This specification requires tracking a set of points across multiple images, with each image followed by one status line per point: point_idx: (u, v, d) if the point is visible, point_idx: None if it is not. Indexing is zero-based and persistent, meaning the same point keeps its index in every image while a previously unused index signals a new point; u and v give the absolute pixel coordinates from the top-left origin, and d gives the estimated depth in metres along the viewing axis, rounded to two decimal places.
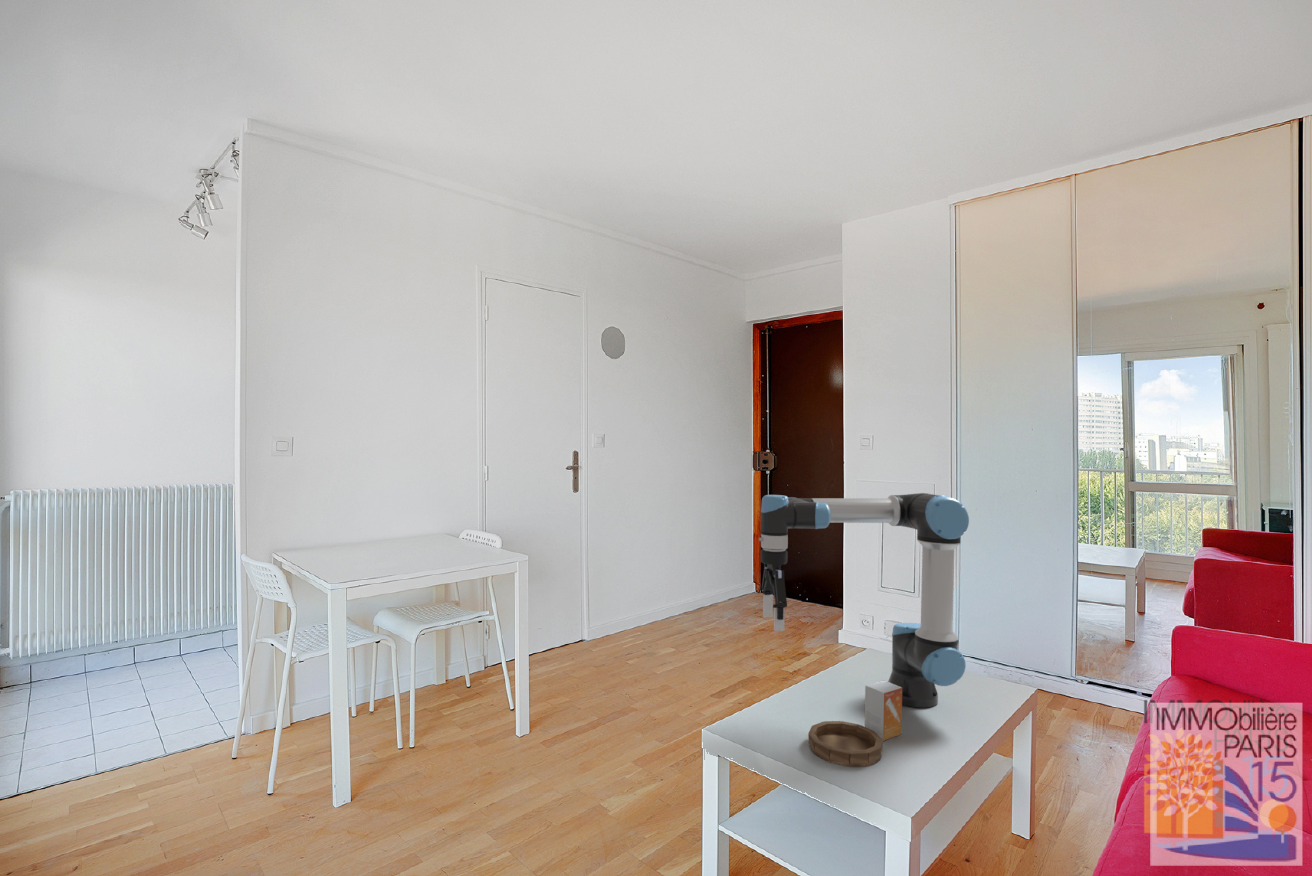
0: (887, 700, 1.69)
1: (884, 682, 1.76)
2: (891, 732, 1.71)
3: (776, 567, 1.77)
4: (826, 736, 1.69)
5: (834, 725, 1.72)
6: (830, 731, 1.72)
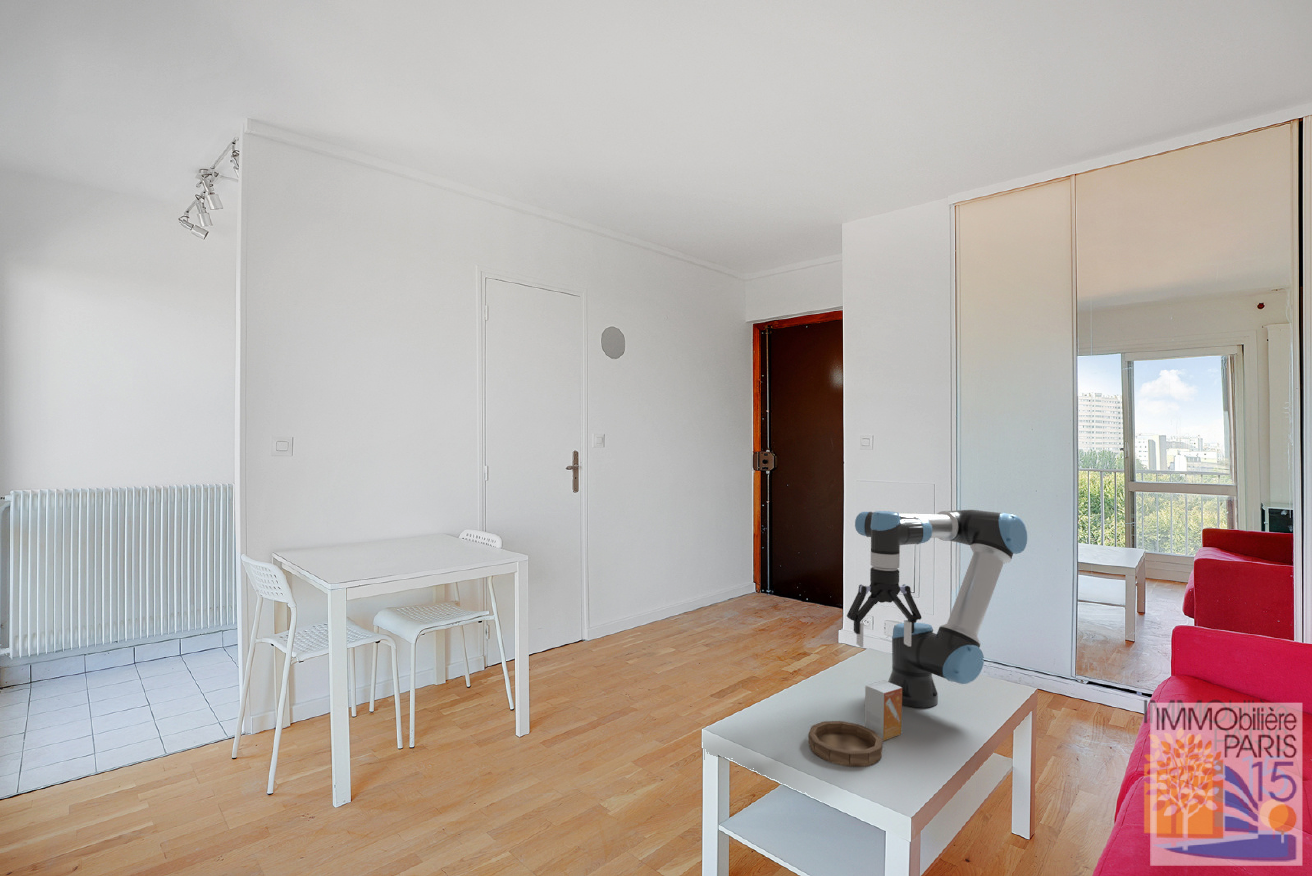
0: (887, 700, 1.69)
1: (884, 682, 1.76)
2: (891, 732, 1.71)
3: (871, 584, 1.74)
4: (826, 736, 1.69)
5: (834, 725, 1.72)
6: (830, 731, 1.72)
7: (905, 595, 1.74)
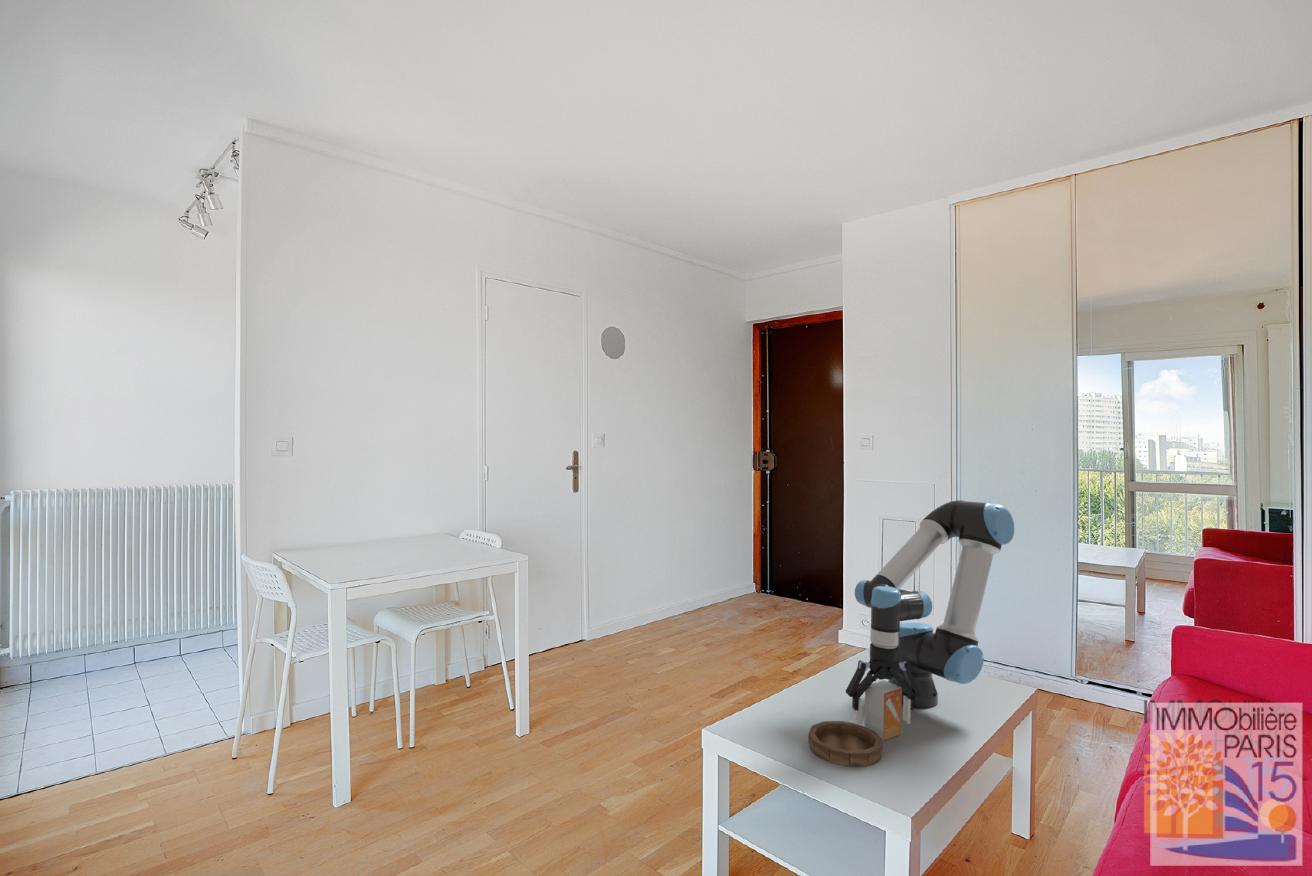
0: (886, 700, 1.69)
1: (884, 682, 1.76)
2: (891, 732, 1.71)
3: (870, 660, 1.73)
4: (826, 736, 1.69)
5: (834, 725, 1.72)
6: (830, 731, 1.72)
7: (904, 672, 1.74)
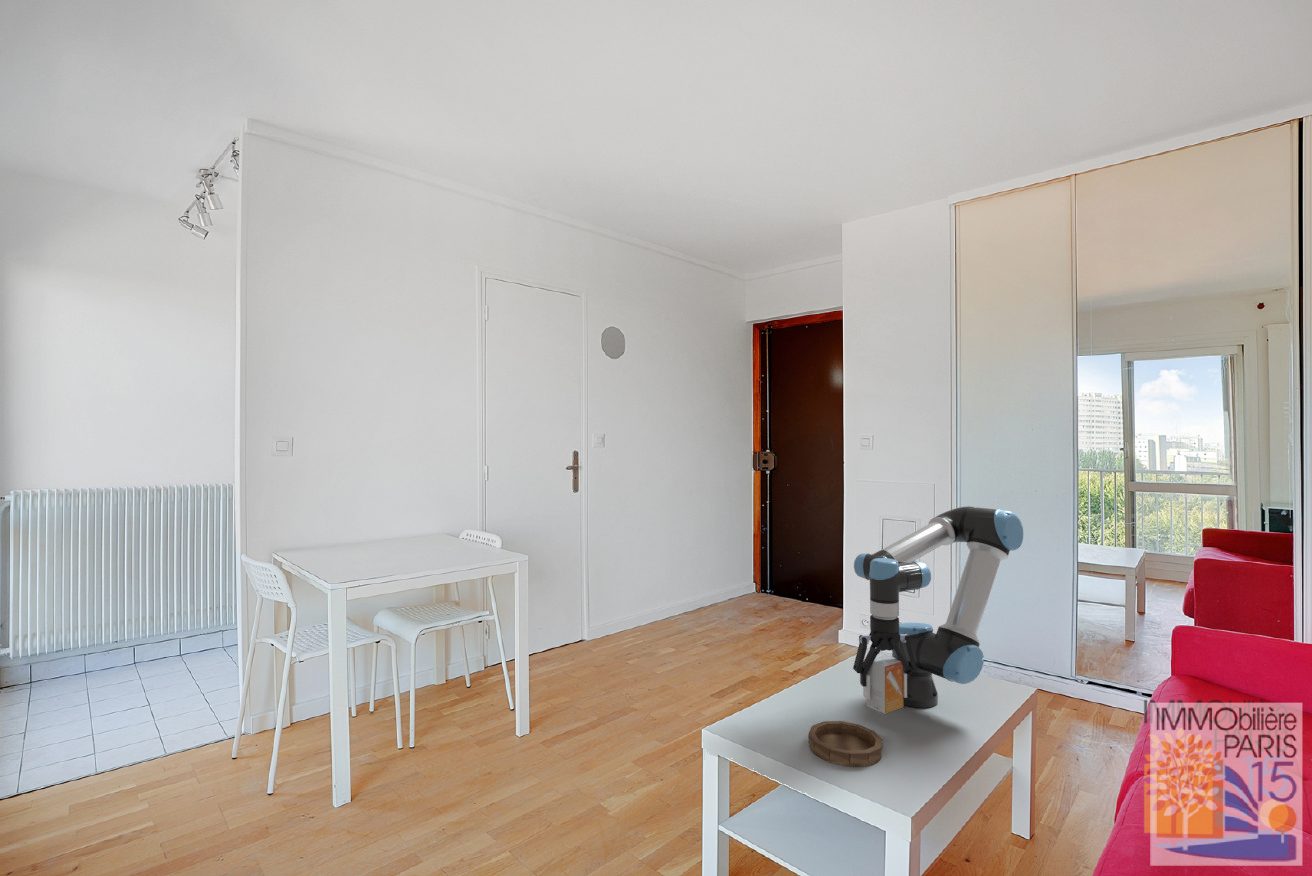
0: (887, 673, 1.70)
1: (885, 656, 1.77)
2: (893, 705, 1.71)
3: (870, 632, 1.73)
4: (826, 736, 1.69)
5: (834, 725, 1.72)
6: (830, 731, 1.72)
7: (904, 644, 1.74)
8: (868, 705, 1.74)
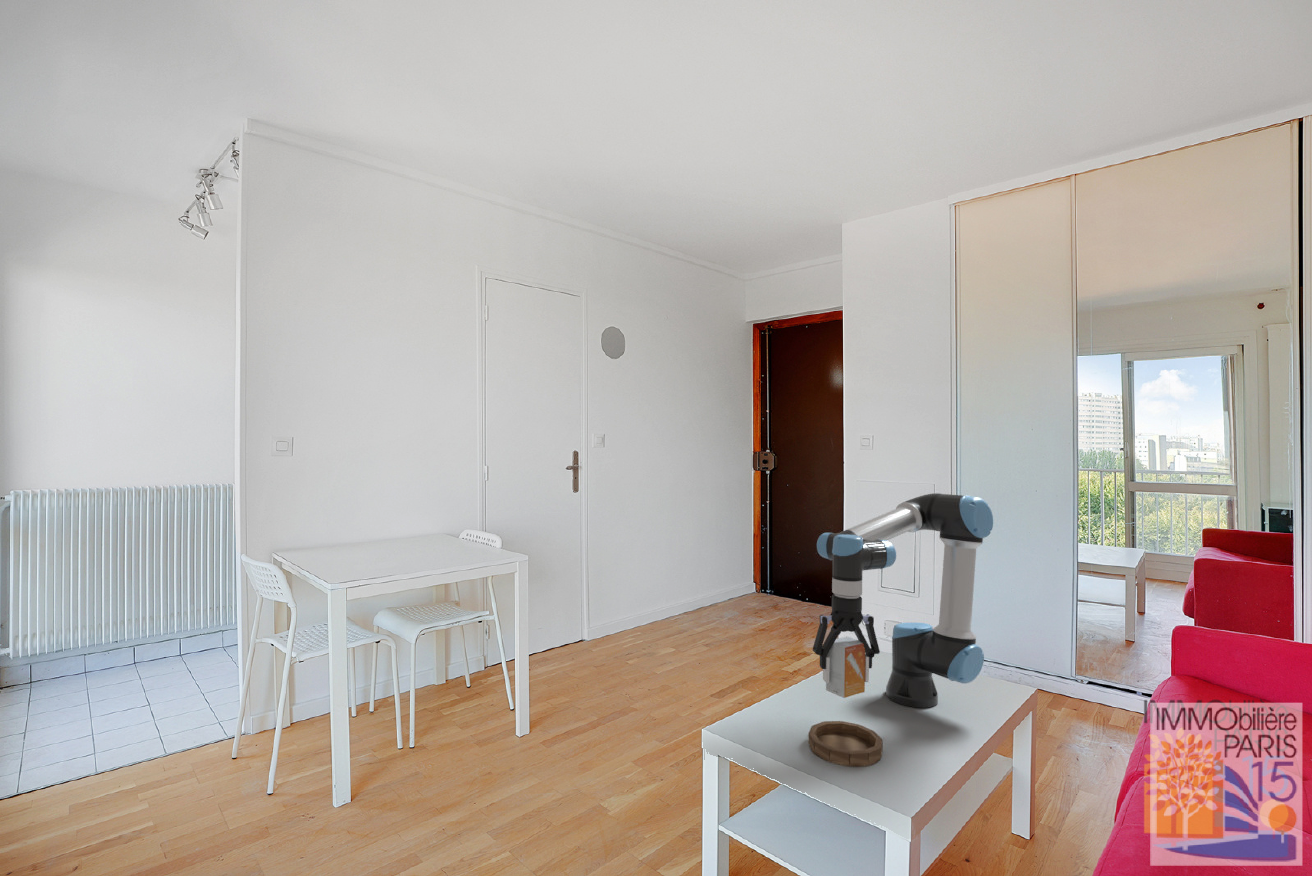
0: (848, 654, 1.60)
1: (847, 638, 1.67)
2: (853, 689, 1.61)
3: None
4: (826, 736, 1.69)
5: (834, 725, 1.72)
6: (830, 731, 1.72)
7: (867, 626, 1.65)
8: (827, 689, 1.64)
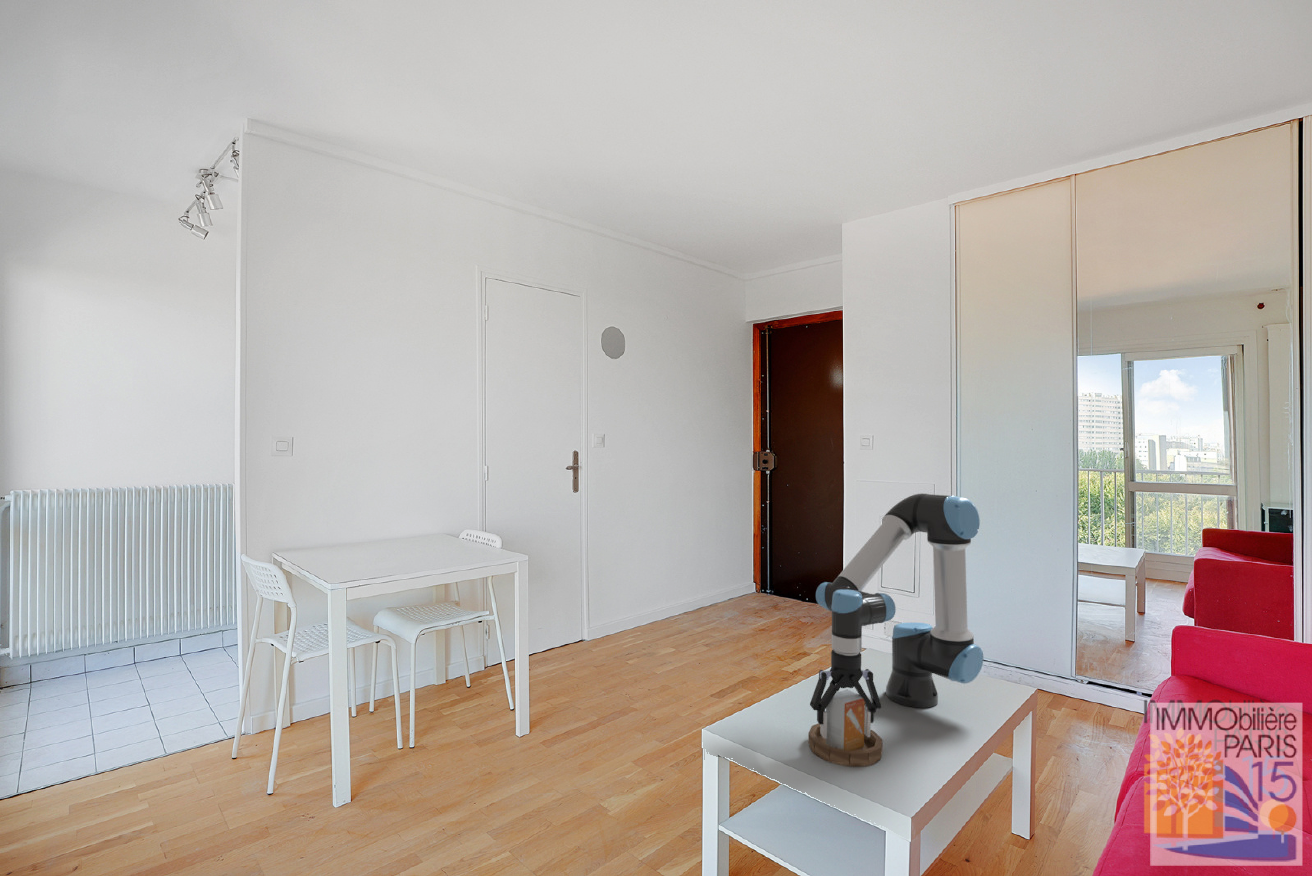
0: (847, 710, 1.60)
1: (846, 691, 1.67)
2: (852, 744, 1.61)
3: (831, 668, 1.64)
4: None
5: None
6: None
7: (867, 681, 1.65)
8: (827, 743, 1.64)
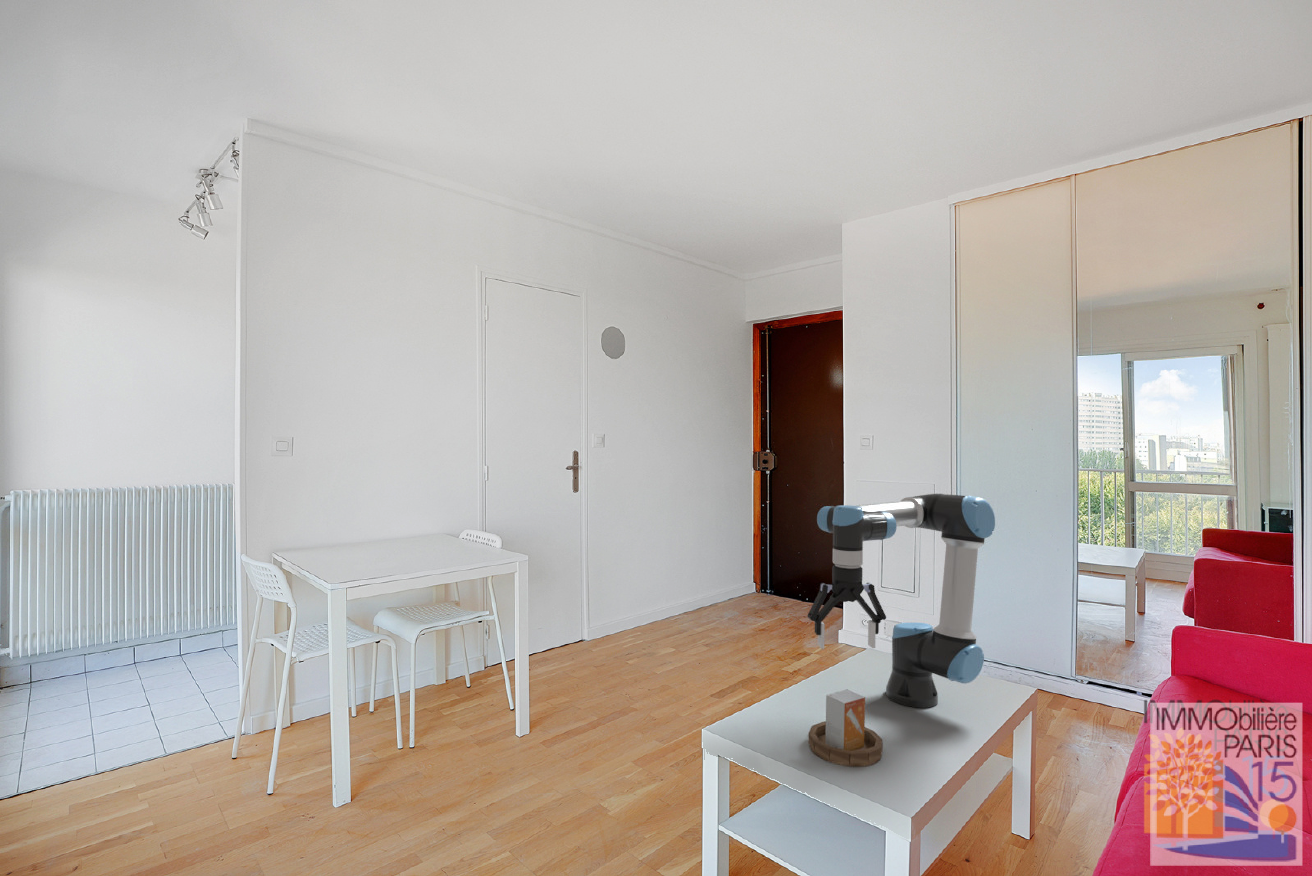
0: (847, 710, 1.60)
1: (846, 691, 1.67)
2: (852, 744, 1.61)
3: (832, 582, 1.64)
4: None
5: None
6: None
7: (869, 594, 1.65)
8: (827, 743, 1.64)
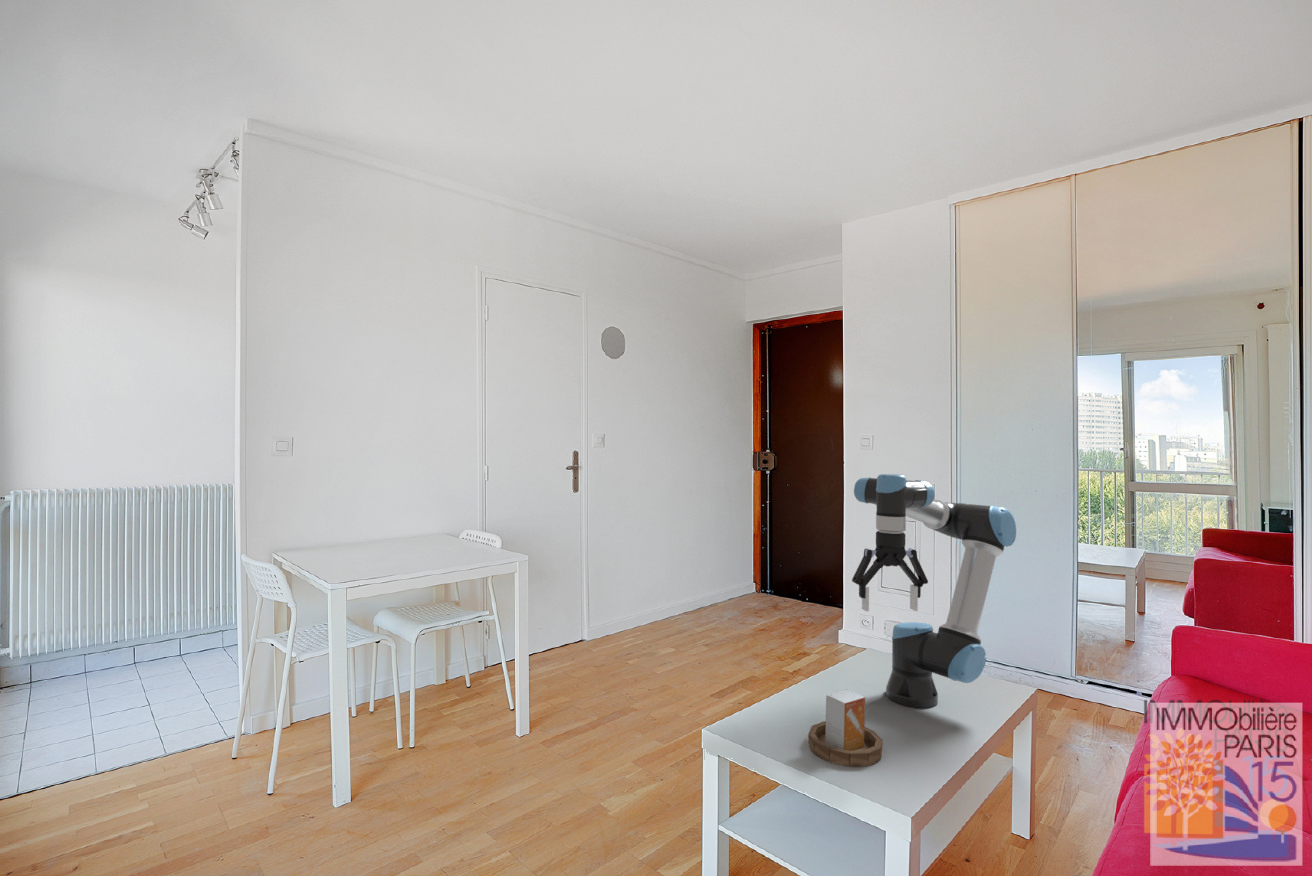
0: (847, 710, 1.60)
1: (846, 691, 1.67)
2: (852, 744, 1.61)
3: (876, 547, 1.71)
4: None
5: None
6: None
7: (911, 559, 1.71)
8: (827, 743, 1.64)
